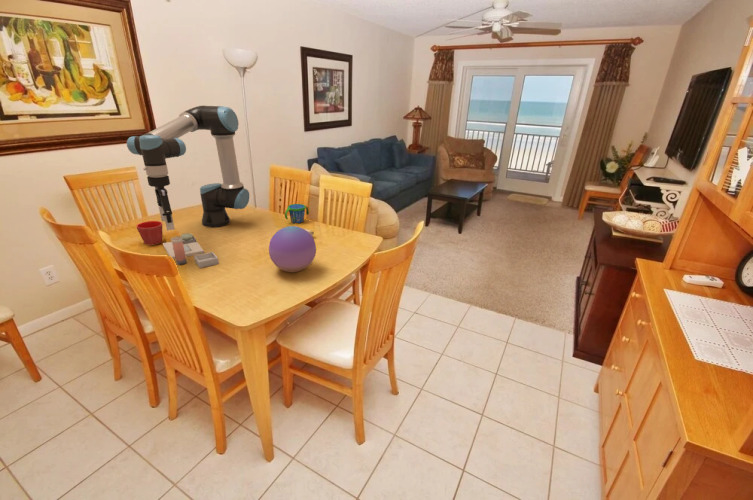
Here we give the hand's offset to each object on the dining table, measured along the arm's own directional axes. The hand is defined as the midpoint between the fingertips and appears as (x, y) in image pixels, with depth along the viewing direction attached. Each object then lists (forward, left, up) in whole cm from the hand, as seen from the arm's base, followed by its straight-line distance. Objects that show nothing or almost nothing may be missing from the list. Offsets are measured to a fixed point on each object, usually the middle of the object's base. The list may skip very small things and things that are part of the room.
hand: (168, 225), depth 146 cm
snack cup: (-71, -21, -18) cm, 76 cm away
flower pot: (+4, -31, -18) cm, 36 cm away
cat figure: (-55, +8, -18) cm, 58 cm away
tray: (-11, +8, -18) cm, 22 cm away
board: (-6, -14, -18) cm, 23 cm away
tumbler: (-2, +2, -18) cm, 18 cm away
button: (-9, -20, -15) cm, 27 cm away
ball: (-40, +36, -18) cm, 57 cm away
